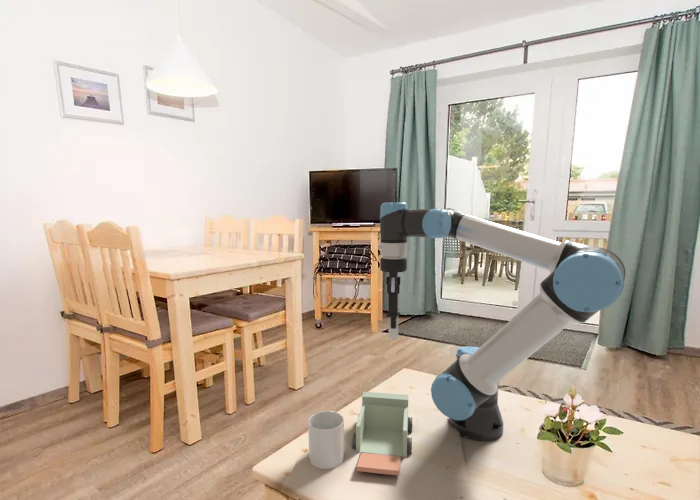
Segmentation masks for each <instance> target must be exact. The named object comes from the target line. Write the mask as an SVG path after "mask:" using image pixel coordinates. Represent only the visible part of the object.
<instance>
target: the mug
mask: <svg viewBox="0 0 700 500" xmlns="http://www.w3.org/2000/svg"><path fill="white" fill-rule="evenodd" d="M307 424H308V427H307V428H308V459H309V462H310V463H309V464H310V465H312V466H313V467H314V468H317V469H320V470H330V469H331V470H332V469H335V468H337V467H338V466H341V464H342V463H343V462H344V459H345V419H344V417H343V416H342V415H341V413H338V412H337V411H335V410H322V411H318V412H316V413H313V414H312V415H311V416H310V417H309V418H308V423H307Z"/></svg>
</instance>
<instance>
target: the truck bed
mask: <svg viewBox="0 0 700 500" xmlns="http://www.w3.org/2000/svg"><path fill="white" fill-rule="evenodd" d="M361 398H362V399H361V401H362V403H361V407H360V410H359V413H358V415H357V421H356V425H355V432H353V434H352V441H351V447H352V449H355V452H356V453H361V452H366V453H376V454H387V455H397V456H402V457H404V458H406V457H407V456H408V455H412V453H413V452H412V451H413V450H412V449H413V446H412V445H413V444H412V443H413V437H408V434H409V433H413V417H410V416H409V394H402V393H401V394H399V393H386V392H374V391H373V392H371V391H363V393H362V395H361Z"/></svg>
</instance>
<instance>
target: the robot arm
mask: <svg viewBox="0 0 700 500" xmlns="http://www.w3.org/2000/svg"><path fill="white" fill-rule="evenodd" d="M379 212H380V215H379V226H380V230H379V231H380V232H379V233H380V244H378V246H377V248H378V249H380V250H379V251H380V252H379V254H380V257H381V258H380V261H379V262H380V263H379V267H380V268H379V270H380V271H381V272H383V273H388V276H386V280H385V284H386V289H387V290H386V294H387V295H388V314H387V313H386V317H385V318H388V339H389V340H399V316H401V312H398V311H399V294H400V286H401V276H398V273H405V272H407V269H408V259H407V256H408V238H412V237H413V238H425V239H426V238H427V239H428V238H429V239H433V240H434V239H444V238H446V237H449V238H452V239H456V240H458V241H462V242H464V243H467V244H471V245H473V246H476V247H480V248H482V249H484V250H488V251H490V252H493V253H496V254H499V255H503V256H504V257H507V258H511V259H514V260H517V261H520V262H522V263H526V264H527V265H531V266H534V267H536V268H540V269H541V270H546V271H549V273H550V274H549V275H548V276H547V277H546V278H544V279H543V280H542V281H541V282H540V284H539V294H538V295H537V296H535V297H534V298H533V299H531V301H530V302H529V303H528V304H527V305H525V306H524V307H523V308H522V309H521V310H520V311H519V312H518V313H516V314H515V315H514V316H513V317H512V318H511V319H510V320H509V321H507V322H506V323H505V324H504V325H503V326H502V327H501V328H500V329H499V330H497V332H495V333H494V334H493V335H492V336H491V337H490V338H488V340H486V341H485V342H484V343H483V344H482V345H481V346H480V347H478V346H472V345H471V346H470V345H468V346H467V345H466V346H460V347H458V348H457V350H456V353H455V356H456V359H455V361H453V363H451V364H450V366H448V367H447V368H446V369H444V371H443V372H441V373H440V374H439V375H437V376H436V377H434V378H435V379H434V380H433V381H432V383H431V386H430V392H431V399H432V402H433V403H434V405H435V407H436V408H437V410H438V411H440V413H441V414H442V415H444V416H445V417H447V418H448V421H449V423H450V425H451V427H452V428H453V429H454V430H455V431H458V435H460V436H462V437H464V438H467V439H469V440H470V439H471V440H474V441H492V440H496V439H498V438H500V437H502V435H503V434H504V433H503V432H504V420H503V417H502V414H501V410H500V406H499V403H498V402H499V401H498V399H499V382H500V381H501V380H503V379H504V378H505V377H506V376H508V375H509V374H510V373H511V372H513V371H514V370H515V369H516V368H517V367H519V366H520V365H521V364H523V363H524V362H525V361H526V360H527V359H529V358H530V357H531V356H533V354H535V353H536V352H537V351H538V350H540V349H541V348H542V347H543V346H544V345H547V343H548V342H549V341H551V340H552V339H553V338H554V337H556V336H557V335H558V334H559V333H561V332H562V331H563V330H564V329H565V328H567V327H568V326H569V325H570V324H584V323H586V321H587V322H588V320H589V319H590V318H592V317H593V316H594V315H596V314H597V313H598V312H600V311H604V310H605V309H606V308H607V309H608V308H609V307H611V306H612V305H613V304H614V303H615V302H616V301H618V300H619V298H620V297H621V294H622V293H623V291H624V288H625V287H624V286H625V281H626V280H625V279H626V267H625V265H624V262H623V260H622V259H621V258H620V257H619V256H618V255H617V253H614V252H613V251H611V250H609V249H607V248H604V247H599V246H595V245H588V244H585V243H579V242H577V241H576V242H575V241H572V240H569V239H566V240H564V241H561V242H560V241H557V240H554V239H550V238H547V237H544V236H540V235H537V234H535V233H529V232H527V231H523V230H520V229H518V228H514V227H510V226H507V225H503V224H500V223H496V222H493V221H489V220H486V219H483V218H480V217H477V216H473V215H470V214H466V213H463V212H460V211H459V210H458V209H455V208H451V207H450V208H448V207H447V208H425V209H424V208H421V209H420V208H418V209H411V208H409V207H408V203H407V202H403V201H402V202H401V201H398V202H396V201H395V202H391V201H390V202H383V203H382V204H381V205H380V211H379Z"/></svg>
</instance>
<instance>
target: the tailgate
mask: <svg viewBox="0 0 700 500" xmlns="http://www.w3.org/2000/svg"><path fill="white" fill-rule="evenodd" d="M359 453H360V454H359V455H360V456H359V459H358V461H357V465H356V472H362V473H363V472H364V473H371V474H378V475H379V474H380V475H390V476H391V475H392V476H400V470H401V460H402V457H403V456H397V455H387V454H376V453H366V452H359Z"/></svg>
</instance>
